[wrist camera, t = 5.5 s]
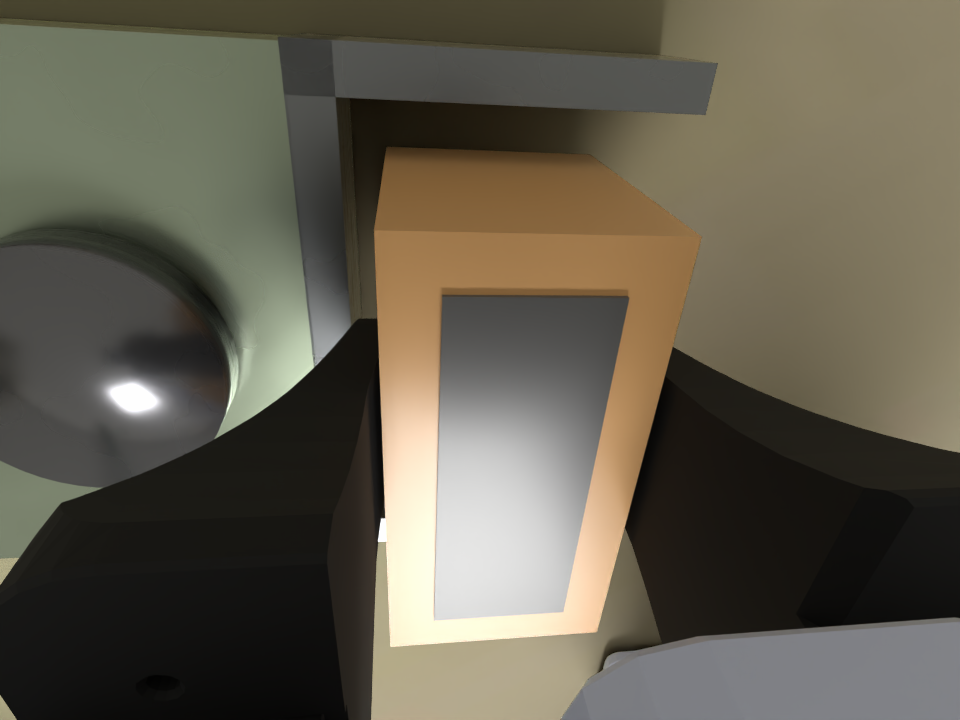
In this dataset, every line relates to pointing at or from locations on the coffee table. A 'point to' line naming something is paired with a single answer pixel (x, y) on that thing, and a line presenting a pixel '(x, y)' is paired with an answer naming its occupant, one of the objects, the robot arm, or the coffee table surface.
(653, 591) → the robot arm
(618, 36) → the coffee table surface
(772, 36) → the coffee table surface
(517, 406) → the orange framed grey panel
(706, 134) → the coffee table surface
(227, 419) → the green slab
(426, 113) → the coffee table surface
